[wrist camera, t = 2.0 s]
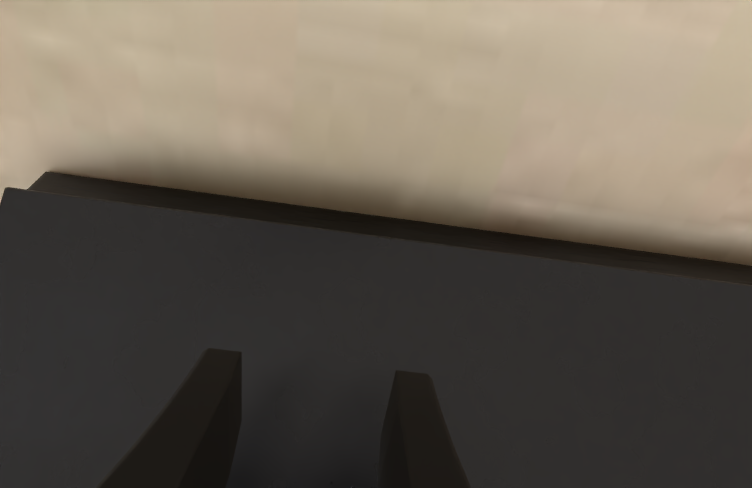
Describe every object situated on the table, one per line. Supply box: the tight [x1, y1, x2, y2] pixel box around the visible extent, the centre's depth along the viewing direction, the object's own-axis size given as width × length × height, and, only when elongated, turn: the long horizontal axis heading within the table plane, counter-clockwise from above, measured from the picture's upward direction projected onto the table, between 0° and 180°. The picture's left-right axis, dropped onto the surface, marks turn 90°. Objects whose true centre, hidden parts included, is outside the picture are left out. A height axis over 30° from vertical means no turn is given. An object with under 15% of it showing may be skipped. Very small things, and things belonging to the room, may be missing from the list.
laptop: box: [27, 172, 752, 285], centre depth 25 cm, size 21×30×2 cm
